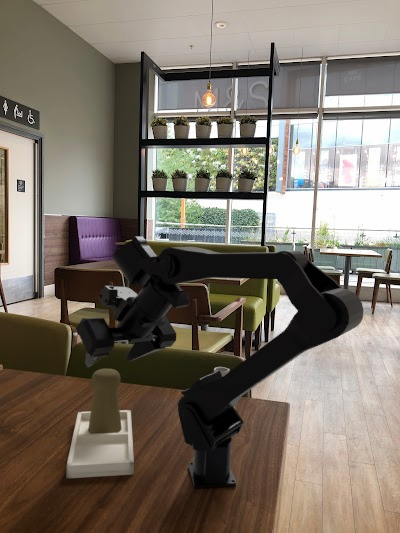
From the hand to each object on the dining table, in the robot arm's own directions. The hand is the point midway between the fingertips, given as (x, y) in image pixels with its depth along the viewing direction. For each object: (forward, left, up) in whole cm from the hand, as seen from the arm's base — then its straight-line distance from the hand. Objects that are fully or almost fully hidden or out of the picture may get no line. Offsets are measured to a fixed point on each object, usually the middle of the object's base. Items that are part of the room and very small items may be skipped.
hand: (108, 362), depth 82 cm
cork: (-1, 0, -12) cm, 12 cm away
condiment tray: (-6, +1, -13) cm, 14 cm away
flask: (+4, -22, -13) cm, 26 cm away
